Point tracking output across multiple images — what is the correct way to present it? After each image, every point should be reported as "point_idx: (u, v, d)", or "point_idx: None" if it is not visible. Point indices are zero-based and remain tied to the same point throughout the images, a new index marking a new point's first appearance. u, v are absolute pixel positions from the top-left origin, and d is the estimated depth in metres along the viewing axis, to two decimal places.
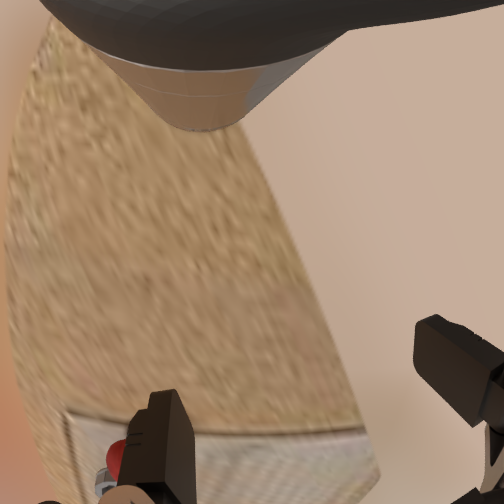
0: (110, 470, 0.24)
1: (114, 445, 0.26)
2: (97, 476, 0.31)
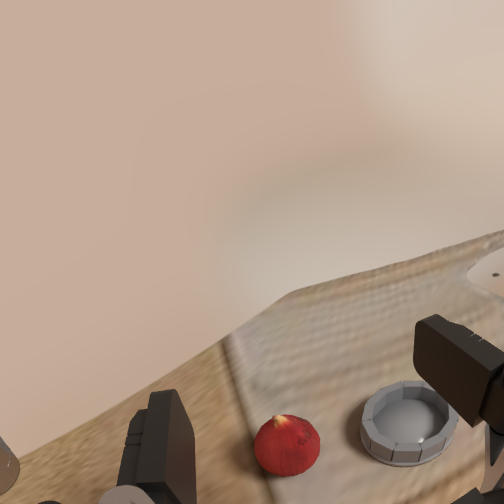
0: (285, 451, 0.21)
1: (270, 471, 0.22)
2: (416, 461, 0.21)
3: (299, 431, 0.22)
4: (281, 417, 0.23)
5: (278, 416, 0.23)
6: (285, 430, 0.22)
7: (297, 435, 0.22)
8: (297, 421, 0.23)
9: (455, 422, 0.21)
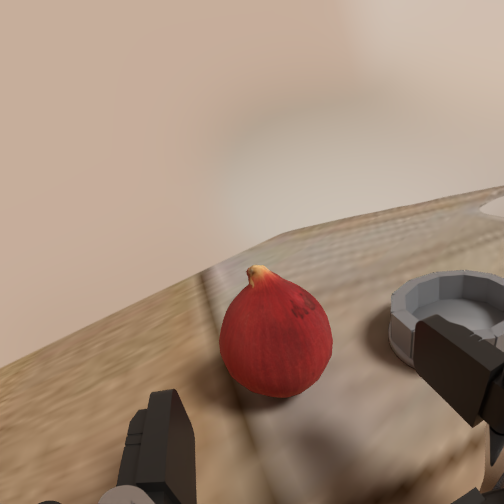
0: (270, 328, 0.13)
1: (246, 382, 0.14)
2: None
3: (293, 293, 0.14)
4: (261, 266, 0.15)
5: (256, 265, 0.15)
6: (269, 289, 0.14)
7: (291, 299, 0.14)
8: None
9: None
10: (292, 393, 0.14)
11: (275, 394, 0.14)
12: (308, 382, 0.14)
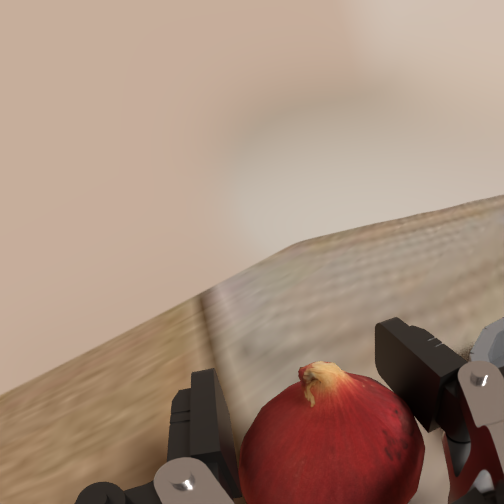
0: (346, 487, 0.05)
1: None
2: None
3: (385, 413, 0.06)
4: (331, 367, 0.07)
5: (321, 364, 0.07)
6: (345, 413, 0.06)
7: (383, 428, 0.06)
8: (375, 383, 0.07)
9: None
10: None
11: None
12: None
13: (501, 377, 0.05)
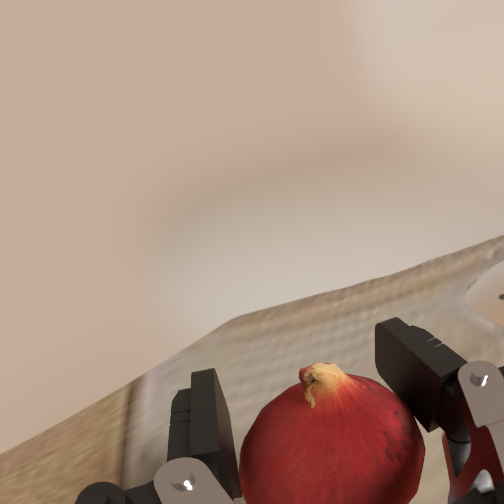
0: (346, 488, 0.05)
1: None
2: None
3: (386, 415, 0.06)
4: (332, 368, 0.07)
5: (321, 365, 0.07)
6: (346, 415, 0.06)
7: (384, 429, 0.06)
8: (375, 385, 0.07)
9: None
10: None
11: None
12: None
13: (501, 377, 0.05)
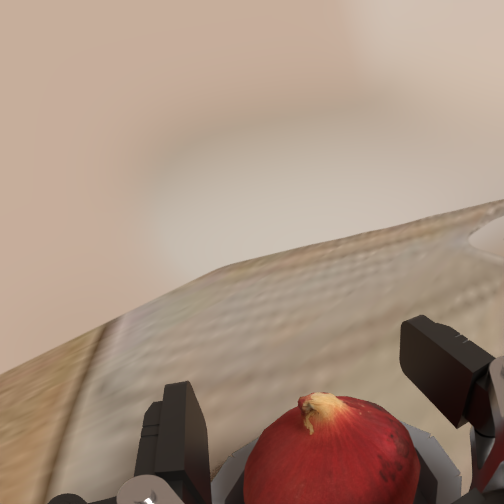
0: None
1: None
2: None
3: (381, 439, 0.06)
4: (329, 398, 0.07)
5: (319, 396, 0.07)
6: (342, 440, 0.06)
7: (378, 452, 0.06)
8: (371, 409, 0.07)
9: None
10: None
11: None
12: None
13: None
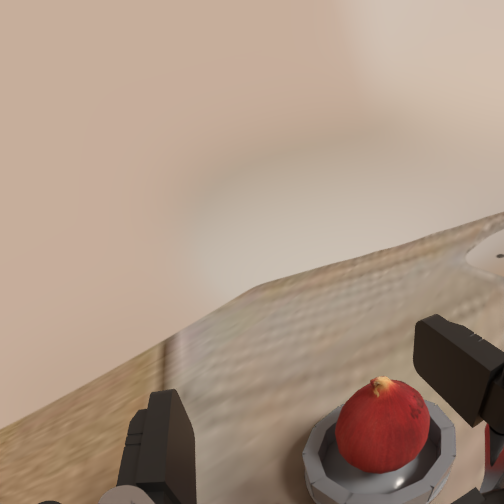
0: (395, 432, 0.13)
1: (366, 469, 0.13)
2: None
3: (409, 397, 0.14)
4: (385, 378, 0.14)
5: (381, 377, 0.14)
6: (392, 398, 0.14)
7: (409, 404, 0.14)
8: (403, 384, 0.15)
9: (450, 459, 0.12)
10: None
11: (385, 472, 0.13)
12: None
13: None
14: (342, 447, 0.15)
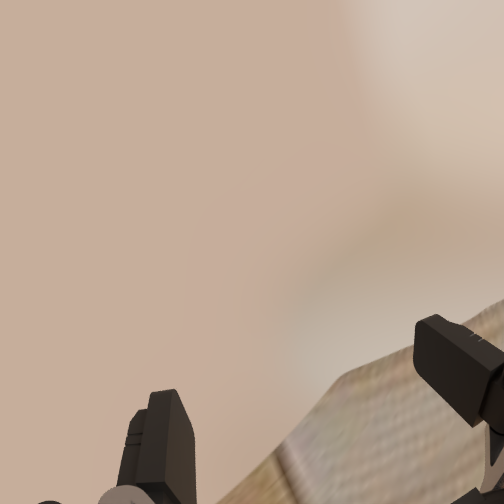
0: None
1: None
2: None
3: None
4: None
5: None
6: None
7: None
8: None
9: None
10: None
11: None
12: None
13: None
14: None
